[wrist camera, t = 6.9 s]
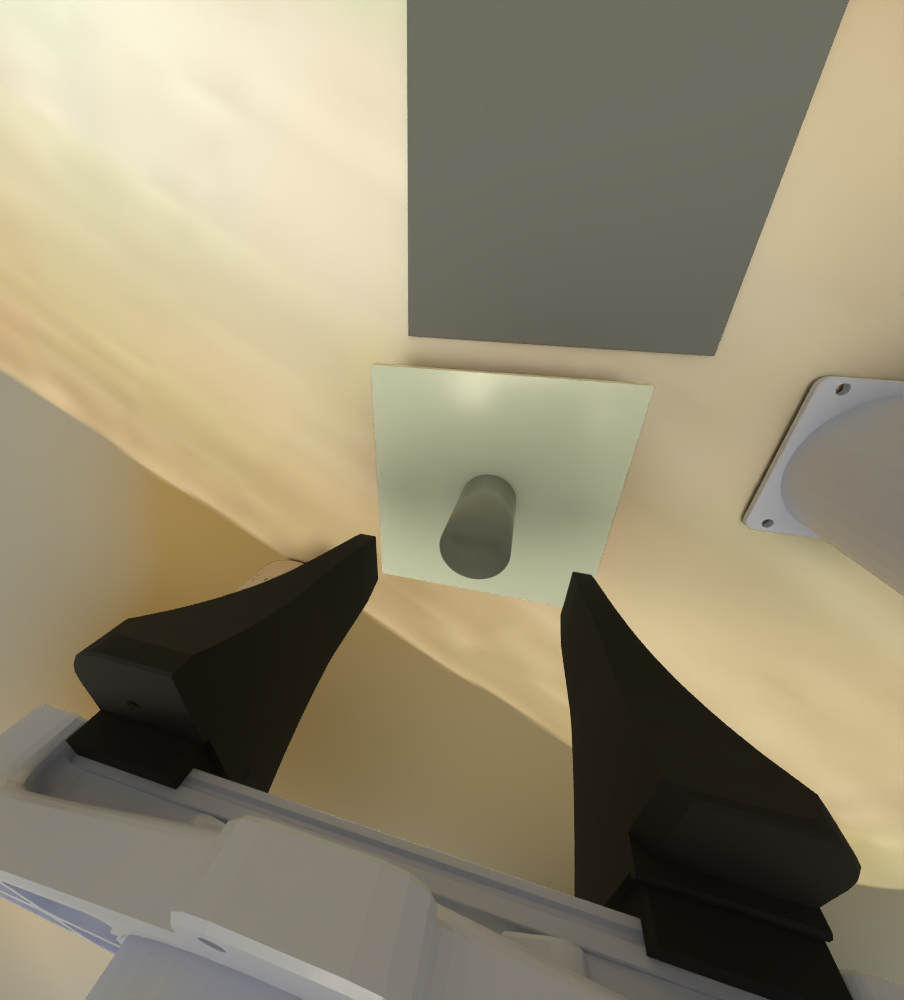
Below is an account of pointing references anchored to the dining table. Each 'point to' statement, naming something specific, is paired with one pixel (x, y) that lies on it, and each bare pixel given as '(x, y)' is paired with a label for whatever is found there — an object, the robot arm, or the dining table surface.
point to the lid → (500, 475)
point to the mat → (598, 162)
